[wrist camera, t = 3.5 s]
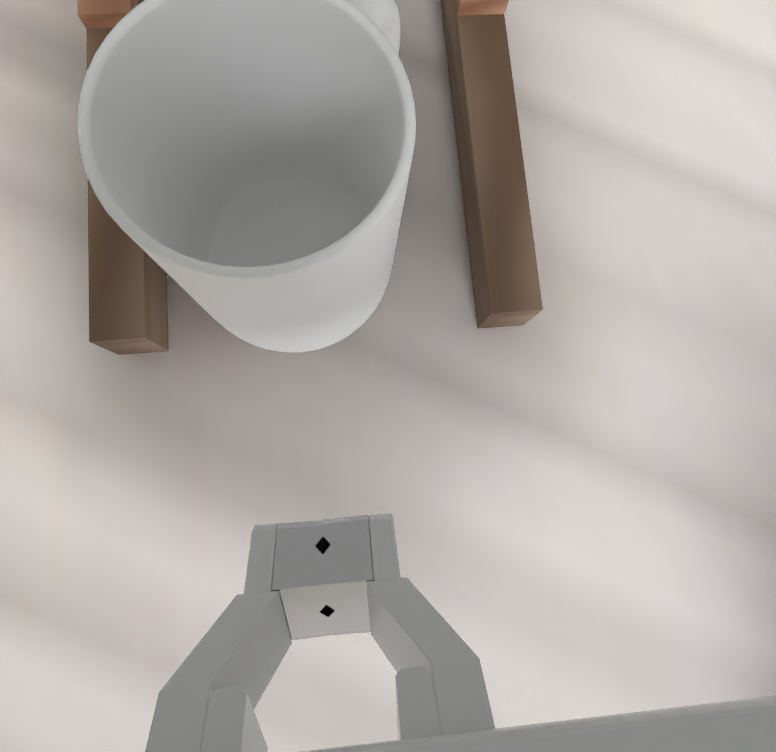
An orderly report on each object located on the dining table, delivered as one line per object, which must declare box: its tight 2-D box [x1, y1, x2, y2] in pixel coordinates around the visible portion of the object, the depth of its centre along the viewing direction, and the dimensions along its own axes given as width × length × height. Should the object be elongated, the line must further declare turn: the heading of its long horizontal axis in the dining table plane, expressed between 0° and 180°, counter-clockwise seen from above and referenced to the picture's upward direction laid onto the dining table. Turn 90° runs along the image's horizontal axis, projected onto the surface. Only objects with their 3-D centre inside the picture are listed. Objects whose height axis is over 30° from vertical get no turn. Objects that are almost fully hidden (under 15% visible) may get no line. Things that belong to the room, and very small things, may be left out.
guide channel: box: [78, 0, 543, 354], centre depth 23 cm, size 17×22×4 cm
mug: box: [77, 0, 416, 353], centre depth 19 cm, size 12×8×10 cm
